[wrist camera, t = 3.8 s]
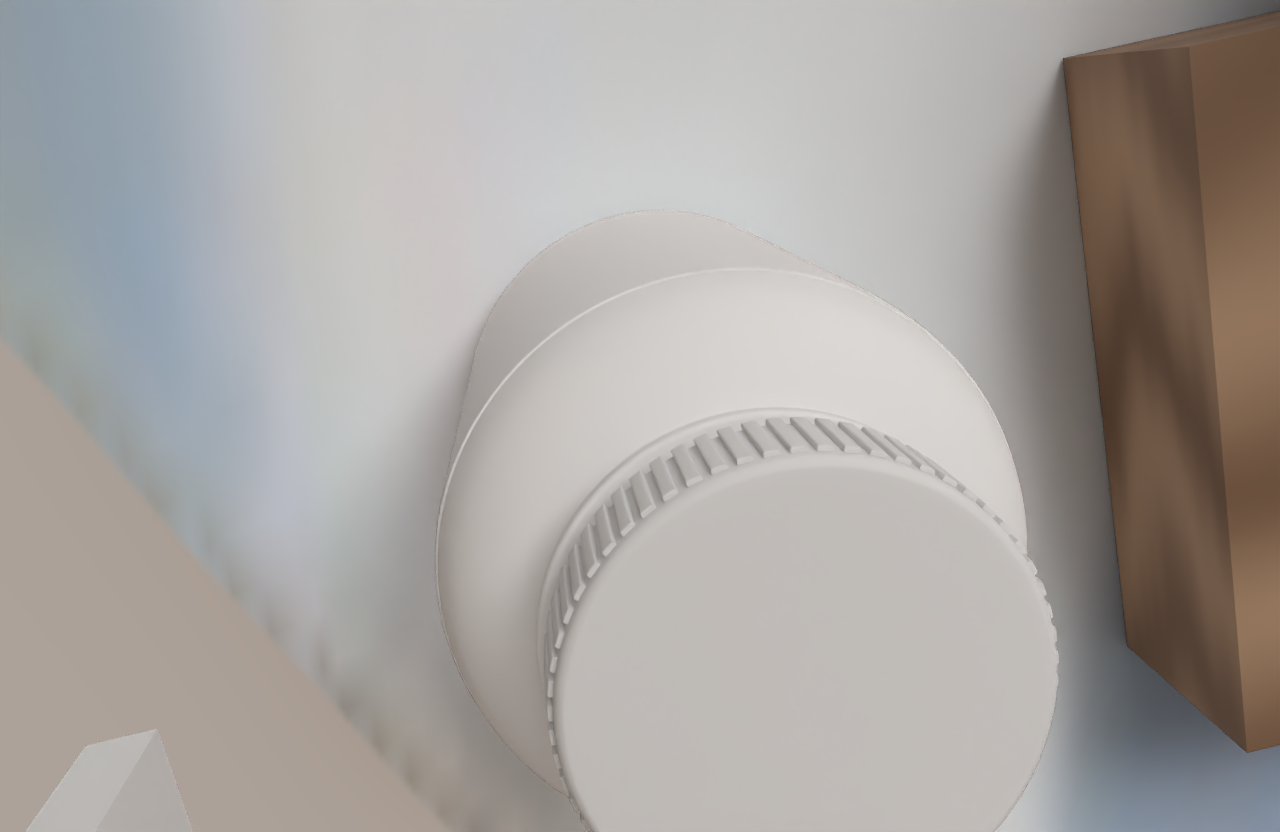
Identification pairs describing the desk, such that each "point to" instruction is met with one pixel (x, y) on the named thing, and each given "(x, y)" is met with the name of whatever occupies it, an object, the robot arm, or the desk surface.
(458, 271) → the desk surface
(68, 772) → the robot arm
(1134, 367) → the walnut base
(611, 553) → the pill bottle
